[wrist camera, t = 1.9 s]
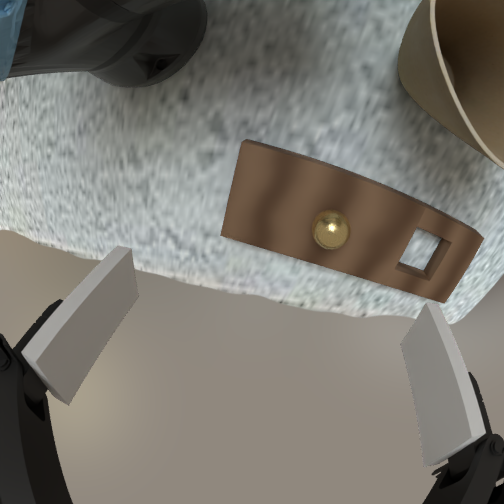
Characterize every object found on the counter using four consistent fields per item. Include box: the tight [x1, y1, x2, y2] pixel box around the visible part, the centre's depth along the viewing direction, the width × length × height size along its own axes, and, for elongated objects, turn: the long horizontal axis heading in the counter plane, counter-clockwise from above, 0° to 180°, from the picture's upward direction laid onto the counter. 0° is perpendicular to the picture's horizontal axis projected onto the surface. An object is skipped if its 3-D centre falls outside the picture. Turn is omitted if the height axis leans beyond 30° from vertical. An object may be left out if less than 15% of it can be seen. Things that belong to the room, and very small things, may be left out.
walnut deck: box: [220, 139, 484, 303], centre depth 30 cm, size 32×11×2 cm, turn 76°
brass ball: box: [312, 210, 351, 250], centre depth 27 cm, size 4×4×4 cm
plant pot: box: [398, 0, 504, 169], centre depth 13 cm, size 15×15×16 cm
